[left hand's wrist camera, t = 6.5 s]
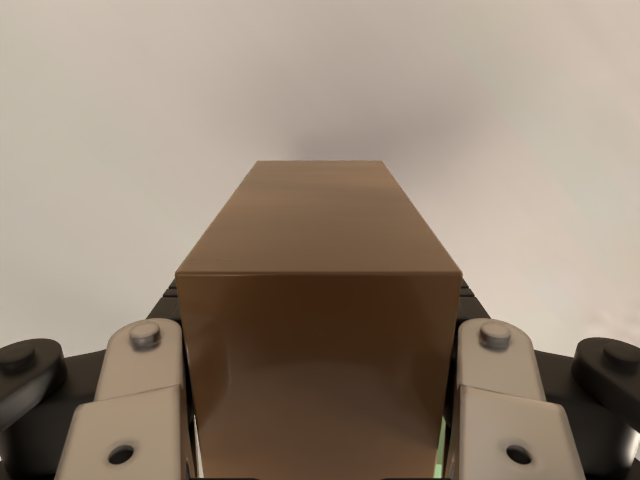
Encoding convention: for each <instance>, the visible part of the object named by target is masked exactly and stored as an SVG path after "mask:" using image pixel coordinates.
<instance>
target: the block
mask: <svg viewBox="0 0 640 480" xmlns="http://www.w3.org/2000/svg"><path fill="white" fill-rule="evenodd" d="M462 276H463V274H462V271H461V270H460V269H459V267H458V266H457V264H456V263H455V262H454V260H453V259H452V258H451V256H450V255H449V253H448V252H447V251H446V249H445V248H444V246H443V245H442V244H441V242H440V241H439V240H438V238H437V237H436V235H435V234H434V233H433V231H432V230H431V228H430V227H429V226H428V224H427V223H426V222H425V220H424V219H423V217H422V216H421V215H420V213H419V212H418V210H417V209H416V208H415V206H414V205H413V204H412V202H411V201H410V199H409V198H408V197H407V195H406V194H405V192H404V191H403V190H402V188H401V187H400V186H399V184H398V183H397V181H396V180H395V179H394V177H393V176H392V174H391V173H390V172H389V170H388V169H387V168H386V166H385V165H384V163H383V162H382V161H257V162H256V163H255V165H254V166H253V168H252V169H251V170H250V172H249V173H248V174H247V176H246V177H245V178H244V180H243V181H242V182H241V184H240V185H239V187H238V188H237V189H236V191H235V192H234V193H233V195H232V196H231V197H230V199H229V200H228V201H227V203H226V204H225V206H224V207H223V208H222V210H221V211H220V212H219V214H218V215H217V216H216V218H215V219H214V220H213V222H212V223H211V225H210V226H209V227H208V229H207V230H206V231H205V233H204V234H203V235H202V237H201V238H200V240H199V241H198V242H197V244H196V245H195V246H194V248H193V249H192V250H191V252H190V253H189V254H188V256H187V257H186V259H185V260H184V261H183V263H182V264H181V265H180V267H179V268H178V269H177V271H176V272H175V279H176V286H177V293H178V300H179V307H180V314H181V321H182V328H183V335H184V342H185V349H186V356H187V363H188V370H189V377H190V384H191V391H192V398H193V405H194V412H195V419H196V425H197V432H198V439H199V446H200V453H201V460H202V467H203V474H204V478H255V479H259V480H381V479H385V478H434V475H435V468H436V460H437V453H438V446H439V439H440V432H441V425H442V418H443V411H444V404H445V397H446V390H447V383H448V375H449V368H450V361H451V354H452V347H453V340H454V333H455V326H456V319H457V312H458V305H459V298H460V290H461V283H462Z"/></svg>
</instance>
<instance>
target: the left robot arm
mask: <svg viewBox="0 0 640 480" xmlns="http://www.w3.org/2000/svg"><path fill="white" fill-rule="evenodd" d="M194 415H195V412H194V405H193V398H192V391H191V384H190V377H189V370H188V363H187V356H186V349H185V342H184V335H183V328H182V321H181V314H180V307H179V300H178V293H177V286H176V279H174V280H173V282H172V283H171V284H170V286H169V289H167V290H166V291H165V293H164V294H163V297H162V298H161V299H160V300H159V301H158V303H157V304H156V306H155V307H154V308H153V310H152V311H151V313H150V314H149V315H148V317H147V318H146V319H145V320H140V321H137V322H134V323H131V324H129V325H127V326H125V327H123V328H121V329H119V330H118V331H117V332H115V333H114V334H113V335H112V337H111V338H110V339H109V342H108V345H107V349H105V350H102V351H98V352H93V353H88V354H83V355H78V356H72V357H67V358H64V355H63V352H62V348H61V346H60V344H59V343H58V342H56V341H54V340H51V339H30V340H24V341H20V342H17V343H13V344H10V345H8V346H5V347H3V348H1V349H0V456H1V459H2V461H0V480H259V479H255V478H199V468H198V451H197V435H196V427H195V420H194ZM443 417H444V420H445V427H444V435H443V451H442V468H441V478H385V479H381V480H640V461H638V460H637V459H636V458H635V455H636V452H637V449H638V447H639V444H640V348H638V347H636V346H633V345H631V344H628V343H625V342H622V341H618V340H614V339H609V338H600V337H593V338H587V339H584V340H582V341H580V342H579V343H578V345H577V348H576V352H575V356H574V358H572V357H567V356H562V355H557V354H552V353H546V352H541V351H537V350H534V349H533V345H532V342H531V339H530V338H529V337H528V335H527V334H526V333H525V332H523V331H522V330H521V329H519V328H517V327H515V326H513V325H511V324H509V323H506V322H503V321H500V320H495V319H491V318H490V316H489V315H488V313H487V312H486V311H485V309H484V308H483V306H482V305H481V303H480V302H479V301H478V299H477V298H476V297H475V296H474V294H473V292H472V291H471V289H469V286H468V285H467V284H466V282H465V281H464V279H463V278H462V283H461V290H460V298H459V305H458V312H457V319H456V326H455V333H454V340H453V347H452V354H451V361H450V368H449V375H448V383H447V390H446V397H445V404H444V411H443Z"/></svg>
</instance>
